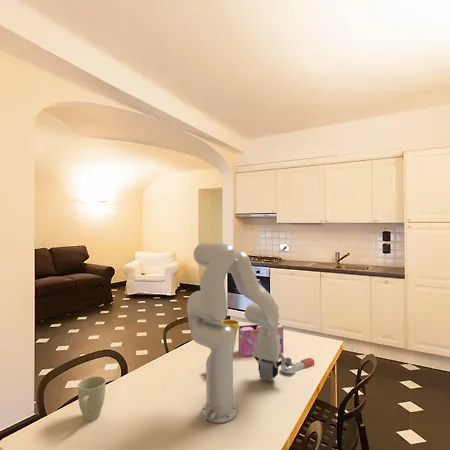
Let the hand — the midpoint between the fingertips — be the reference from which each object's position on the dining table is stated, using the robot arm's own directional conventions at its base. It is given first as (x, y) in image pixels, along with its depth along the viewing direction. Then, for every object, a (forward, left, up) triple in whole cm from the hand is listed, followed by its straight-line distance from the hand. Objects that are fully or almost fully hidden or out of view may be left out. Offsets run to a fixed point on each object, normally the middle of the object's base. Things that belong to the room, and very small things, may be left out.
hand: (268, 373), depth 132 cm
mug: (-53, +45, -3) cm, 69 cm away
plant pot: (+36, +37, -3) cm, 52 cm away
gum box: (+27, +14, -3) cm, 30 cm away
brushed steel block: (0, 0, -1) cm, 1 cm away
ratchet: (+17, -8, -3) cm, 19 cm away
